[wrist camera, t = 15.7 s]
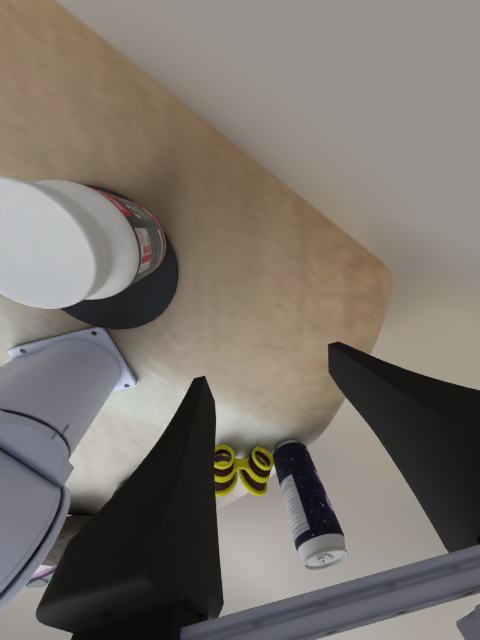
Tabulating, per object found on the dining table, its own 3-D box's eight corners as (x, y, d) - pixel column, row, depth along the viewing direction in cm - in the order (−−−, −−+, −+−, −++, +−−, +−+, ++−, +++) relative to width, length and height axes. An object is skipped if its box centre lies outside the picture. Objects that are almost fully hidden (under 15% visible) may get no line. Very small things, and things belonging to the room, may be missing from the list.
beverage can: (283, 463, 33) (316, 574, 23) (264, 449, 31) (291, 566, 20) (310, 446, 32) (359, 555, 21) (293, 431, 30) (337, 544, 19)
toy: (14, 563, 28) (104, 577, 34) (36, 525, 32) (114, 544, 38) (-61, 603, 32) (33, 609, 38) (-33, 565, 35) (49, 576, 42)
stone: (48, 527, 35) (23, 573, 30) (21, 506, 29) (-15, 559, 25) (115, 525, 36) (100, 568, 32) (101, 505, 30) (81, 554, 26)
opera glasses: (269, 441, 32) (280, 471, 27) (260, 467, 33) (270, 501, 28) (210, 438, 30) (211, 470, 25) (203, 466, 31) (203, 501, 26)
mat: (80, 339, 20) (77, 342, 19) (-11, 206, 15) (-18, 205, 14) (194, 310, 20) (194, 312, 19) (145, 169, 15) (143, 167, 14)
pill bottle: (163, 204, 15) (93, 166, 6) (170, 275, 18) (125, 321, 9) (84, 197, 15) (-123, 144, 6) (102, 273, 17) (-25, 321, 8)
